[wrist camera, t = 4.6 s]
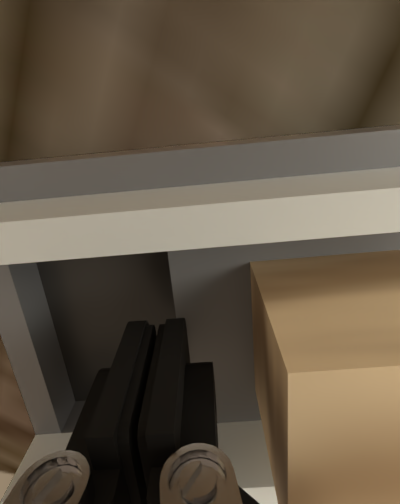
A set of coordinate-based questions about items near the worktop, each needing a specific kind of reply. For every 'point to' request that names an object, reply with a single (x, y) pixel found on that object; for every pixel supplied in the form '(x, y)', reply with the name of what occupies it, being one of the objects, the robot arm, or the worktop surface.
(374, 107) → the worktop surface
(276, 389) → the maple block
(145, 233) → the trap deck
